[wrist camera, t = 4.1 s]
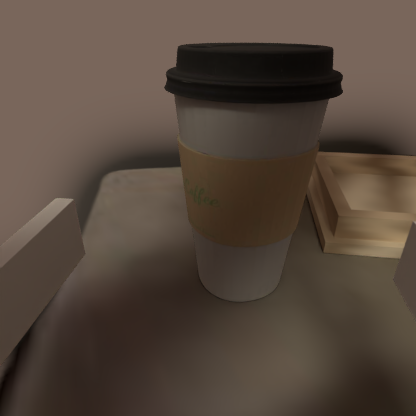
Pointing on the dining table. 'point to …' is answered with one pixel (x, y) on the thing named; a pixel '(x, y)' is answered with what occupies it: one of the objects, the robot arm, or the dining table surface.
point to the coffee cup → (248, 153)
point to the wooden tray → (363, 202)
